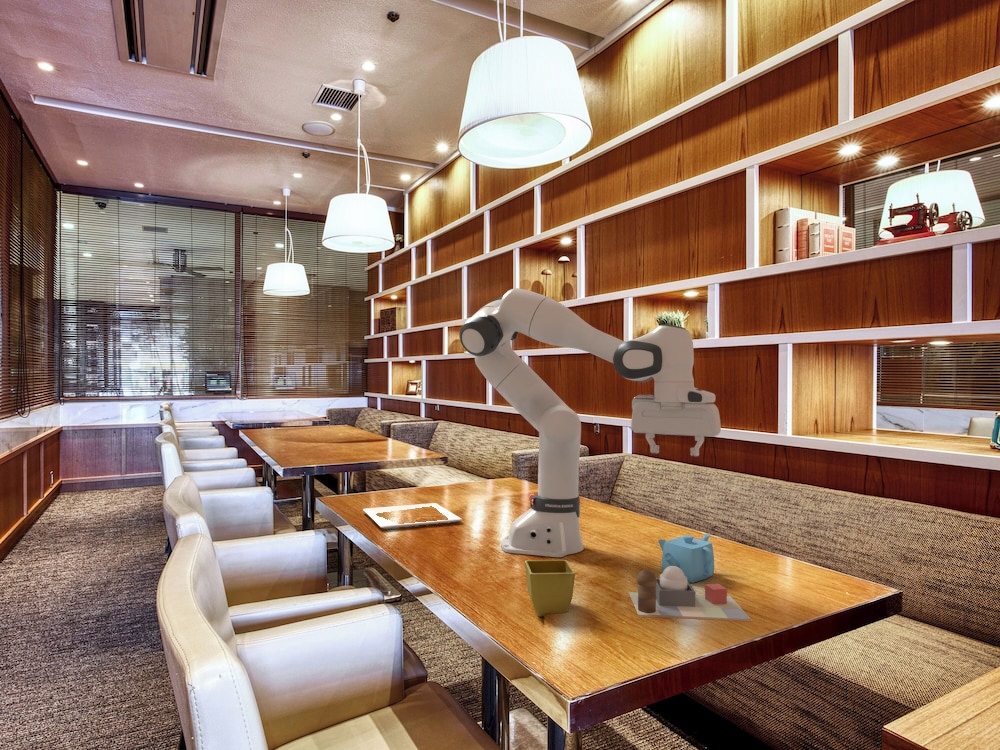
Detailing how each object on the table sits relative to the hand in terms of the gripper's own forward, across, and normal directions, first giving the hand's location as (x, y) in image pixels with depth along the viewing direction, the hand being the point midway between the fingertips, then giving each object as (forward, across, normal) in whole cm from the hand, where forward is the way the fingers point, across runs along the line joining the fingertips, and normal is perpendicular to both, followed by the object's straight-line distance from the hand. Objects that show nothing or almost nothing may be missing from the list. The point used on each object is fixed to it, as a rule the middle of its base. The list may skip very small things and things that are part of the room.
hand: (674, 454), depth 134 cm
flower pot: (+29, -13, -34) cm, 47 cm away
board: (+29, +8, -16) cm, 34 cm away
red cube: (+28, +12, -10) cm, 32 cm away
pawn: (+28, +3, -24) cm, 37 cm away
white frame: (+28, -89, +3) cm, 94 cm away
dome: (+26, +5, -15) cm, 31 cm away
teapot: (+29, +2, +2) cm, 29 cm away
